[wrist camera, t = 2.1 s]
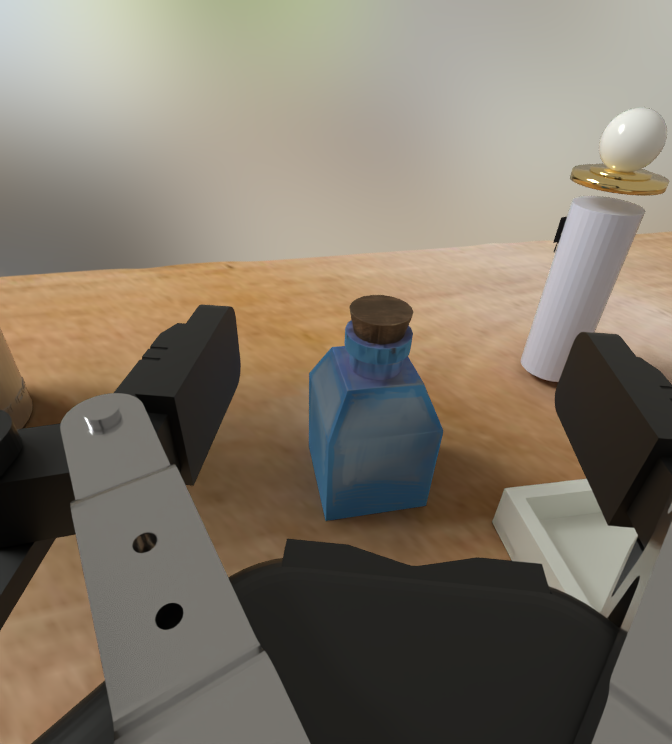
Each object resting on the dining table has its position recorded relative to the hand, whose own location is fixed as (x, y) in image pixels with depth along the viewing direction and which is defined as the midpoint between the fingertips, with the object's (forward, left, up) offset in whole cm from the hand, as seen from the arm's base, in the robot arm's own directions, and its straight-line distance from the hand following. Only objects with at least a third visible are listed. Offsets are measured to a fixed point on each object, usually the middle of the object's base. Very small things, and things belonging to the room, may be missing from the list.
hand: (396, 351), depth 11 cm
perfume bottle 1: (+3, +11, -17) cm, 20 cm away
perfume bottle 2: (+21, +20, -17) cm, 33 cm away
